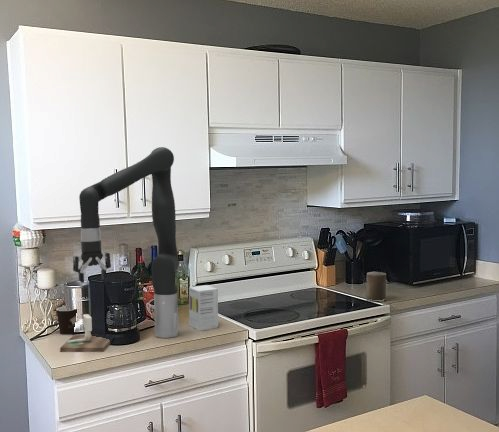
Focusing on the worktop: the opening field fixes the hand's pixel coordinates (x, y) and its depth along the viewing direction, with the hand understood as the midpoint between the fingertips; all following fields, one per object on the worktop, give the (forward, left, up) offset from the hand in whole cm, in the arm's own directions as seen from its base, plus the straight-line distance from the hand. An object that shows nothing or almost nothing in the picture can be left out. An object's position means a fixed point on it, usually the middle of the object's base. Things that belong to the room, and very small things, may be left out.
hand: (92, 280), depth 225 cm
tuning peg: (+4, +7, -22) cm, 23 cm away
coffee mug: (+13, -12, -24) cm, 30 cm away
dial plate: (+1, +6, -24) cm, 24 cm away
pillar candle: (-124, -67, -24) cm, 143 cm away
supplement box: (-41, -19, -24) cm, 51 cm away
